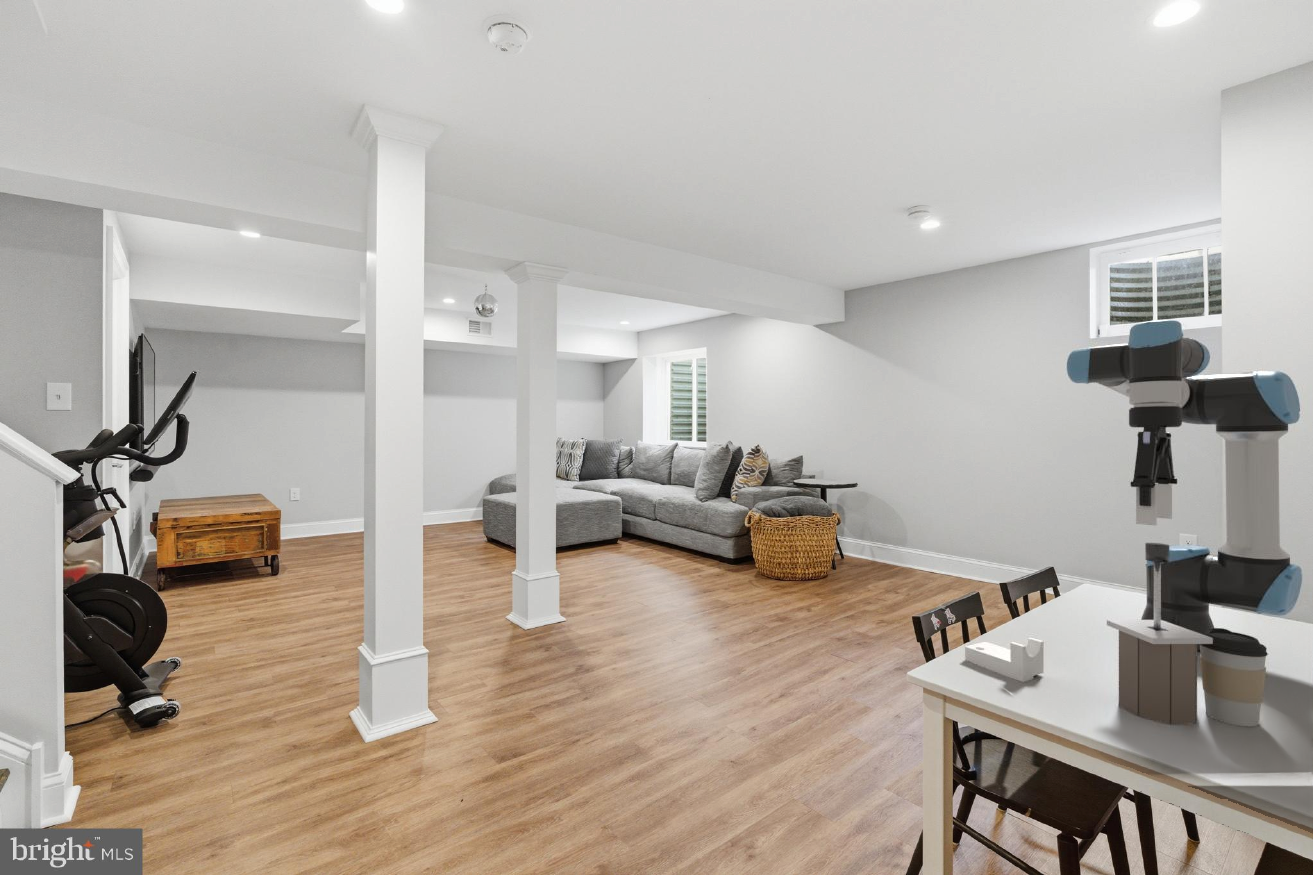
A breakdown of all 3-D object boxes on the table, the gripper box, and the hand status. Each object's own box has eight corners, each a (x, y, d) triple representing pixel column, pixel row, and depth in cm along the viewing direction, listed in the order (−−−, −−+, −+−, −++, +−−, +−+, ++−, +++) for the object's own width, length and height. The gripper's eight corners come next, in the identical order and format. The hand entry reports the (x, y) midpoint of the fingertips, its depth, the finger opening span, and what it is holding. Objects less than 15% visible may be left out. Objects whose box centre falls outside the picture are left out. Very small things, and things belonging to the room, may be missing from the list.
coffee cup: (1282, 731, 102) (1282, 643, 102) (1220, 726, 104) (1220, 640, 104) (1242, 708, 111) (1242, 627, 111) (1185, 704, 113) (1185, 624, 113)
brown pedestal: (1160, 697, 116) (1160, 619, 116) (1213, 723, 105) (1213, 638, 105) (1105, 697, 116) (1105, 619, 116) (1153, 724, 105) (1153, 638, 105)
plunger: (1159, 642, 114) (1159, 540, 114) (1193, 656, 107) (1193, 547, 107) (1123, 642, 114) (1123, 541, 114) (1154, 656, 107) (1154, 547, 107)
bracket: (1043, 677, 127) (1043, 641, 127) (1022, 683, 123) (1022, 646, 123) (985, 657, 138) (985, 624, 138) (965, 662, 135) (965, 628, 135)
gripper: (1144, 408, 122) (1144, 513, 122) (1112, 404, 106) (1111, 525, 106) (1193, 407, 116) (1193, 517, 116) (1167, 402, 100) (1167, 530, 100)
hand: (1154, 521), depth 111 cm, fingers open, 13 cm apart
